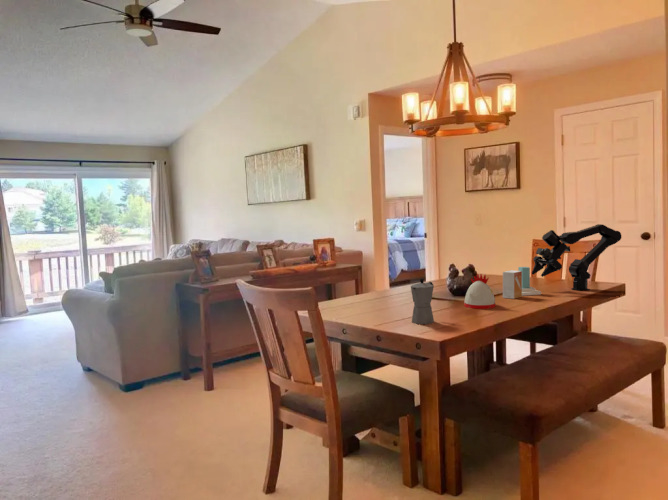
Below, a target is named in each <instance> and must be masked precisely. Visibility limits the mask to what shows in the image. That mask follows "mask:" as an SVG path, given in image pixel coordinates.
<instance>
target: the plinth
mask: <svg viewBox="0 0 668 500" xmlns="http://www.w3.org/2000/svg"><path fill="white" fill-rule="evenodd" d="M536 295H542V291H541V290H537V289H536V288H535V287H532V286H530V288H526V289H522V297H523V296H536Z"/></svg>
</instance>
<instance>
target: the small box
mask: <svg viewBox="0 0 668 500" xmlns="http://www.w3.org/2000/svg"><path fill="white" fill-rule="evenodd" d="M522 297H523V296H522V271H518V270H511V269H510V270H506V271H503V272H502V298H504V299H512V300H513V299H517V298H522Z"/></svg>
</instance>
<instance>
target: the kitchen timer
mask: <svg viewBox="0 0 668 500" xmlns="http://www.w3.org/2000/svg"><path fill="white" fill-rule="evenodd" d="M489 278H490V277H487V276H486V274H484V275H483V274H482V273H480V275H479V273H477V274H476V275H474V276H473V278H471V277H470V280H471V283H472V284H470V286H469V287H468V289H467V290H466V293H465V297H464V304H463V305H464V307H465V308H468V309H477V310H478V309H479V310H480V309H481V310H485V309H493V308H495V307H496V298H495V296H494V293H493V289H492V288H491V287H490V286H489V284H488V283H487V282H488V280H489ZM473 279H474V280H473Z"/></svg>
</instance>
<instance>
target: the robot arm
mask: <svg viewBox="0 0 668 500" xmlns="http://www.w3.org/2000/svg"><path fill="white" fill-rule="evenodd" d="M597 234H599V235H600V236H601V238H600V241H598V243H597V244H596V245H595V246H594V247H592V248H591V249H590V251H587V252H588V253H586V254H585V255H584V256H583V257H582V258H581V259H578V258H577V259H576V258H575V259H574V260H573V261H572V262H571V263H569V266H568V272H569V273H570V276H571V278H573V280H572V283H573V284H572V288H570V289H571V290H575V291H579V292H581V291H590V290H591V288H589V287H588V280H589V279H590V278H591V274H590V272H588V270H589V267H590V265H592V263H593V262H594V261H595V260H596V259H597V258H598V257H599V256H600V255H601V254H603V252H605V250H606V249H607V248H609V247H611V246H613V245H615V244H617V243H618V242H620V241H621V239H622V232H620V231H619V230H615V229H613V228H611V227H608V226H606V225H604V224H599V223H598V224H595V225H592V226H589V227H586V228H583V229H581V230H577V231H568V232H563V233H561V235H559V234H557V233H556V232H555V230H552V229H550V230H549V231H547V232H546V233H544V234H543V236H542V237H541V240H542V241H544V242H545V244H547V246H549V247H550V248H551V247H552V248H551V249H550V248H548V247H545V248H541V247H537V249H536V251H535V254H536V255H537V256H534V257H533V262H534V266H533V268H532V270H531V275H535V274H536V273H538V272H540V271H541V270H543V269H544V270H543V271H542V273H541V274H540V277H547V276H548V275H550V274H552V273H554V272H558V271H560V270H562V269H563V268H562V267H563V264H561V262H559V261H558V260H561V259H562V256H563V254H565V252H571V246H568V245H574V244H575V243H578V242H579V241H580V240H582V239H584V238H587V237H590V236H593V235H594V236H595V235H597ZM538 255H539V256H538Z"/></svg>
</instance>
